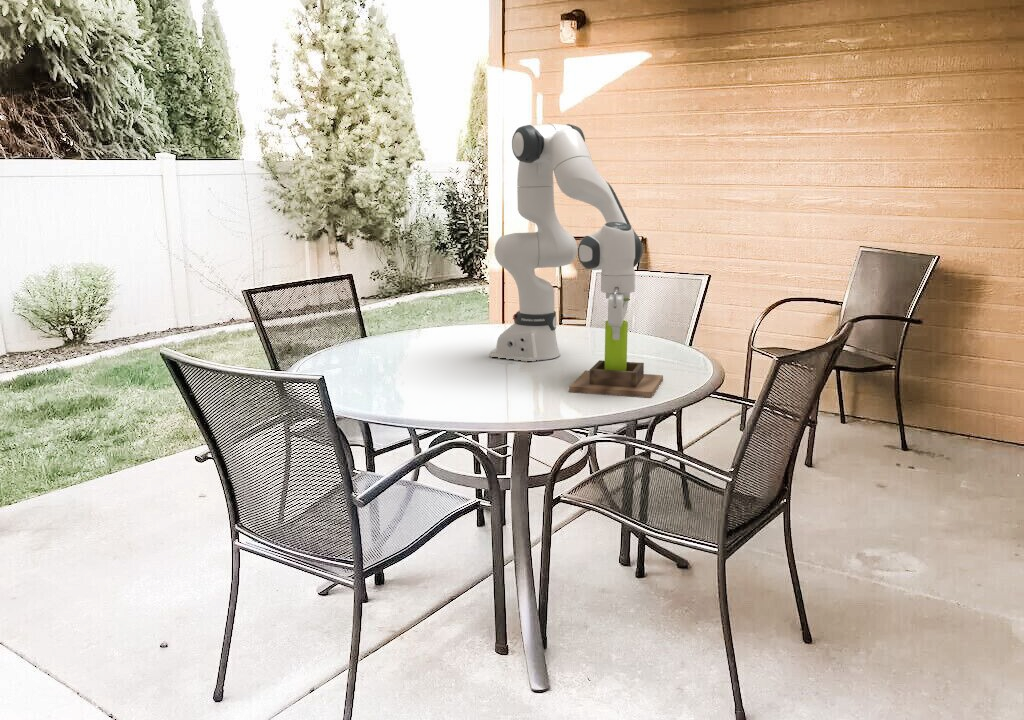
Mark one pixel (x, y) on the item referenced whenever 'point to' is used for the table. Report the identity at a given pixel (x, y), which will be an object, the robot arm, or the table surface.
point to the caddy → (617, 381)
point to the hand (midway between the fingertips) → (617, 336)
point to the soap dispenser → (616, 347)
